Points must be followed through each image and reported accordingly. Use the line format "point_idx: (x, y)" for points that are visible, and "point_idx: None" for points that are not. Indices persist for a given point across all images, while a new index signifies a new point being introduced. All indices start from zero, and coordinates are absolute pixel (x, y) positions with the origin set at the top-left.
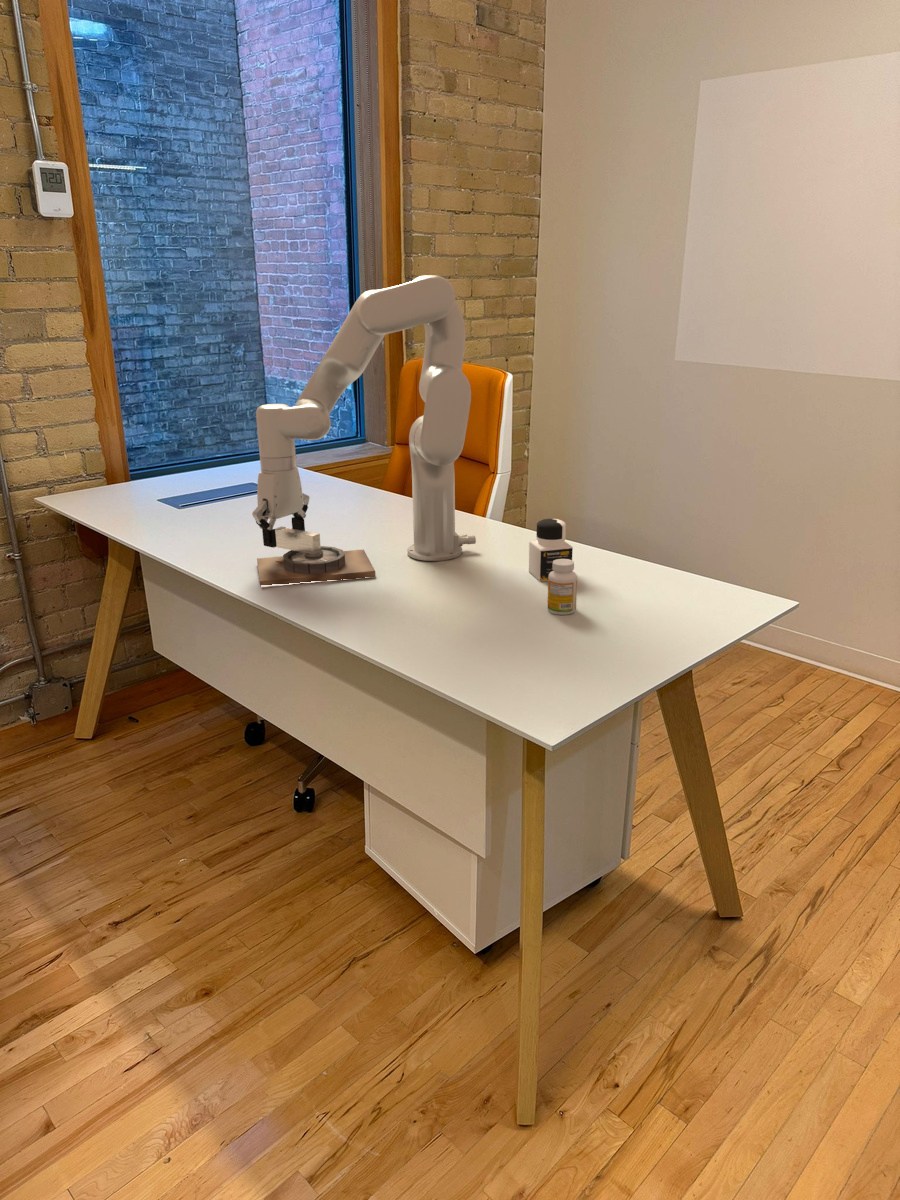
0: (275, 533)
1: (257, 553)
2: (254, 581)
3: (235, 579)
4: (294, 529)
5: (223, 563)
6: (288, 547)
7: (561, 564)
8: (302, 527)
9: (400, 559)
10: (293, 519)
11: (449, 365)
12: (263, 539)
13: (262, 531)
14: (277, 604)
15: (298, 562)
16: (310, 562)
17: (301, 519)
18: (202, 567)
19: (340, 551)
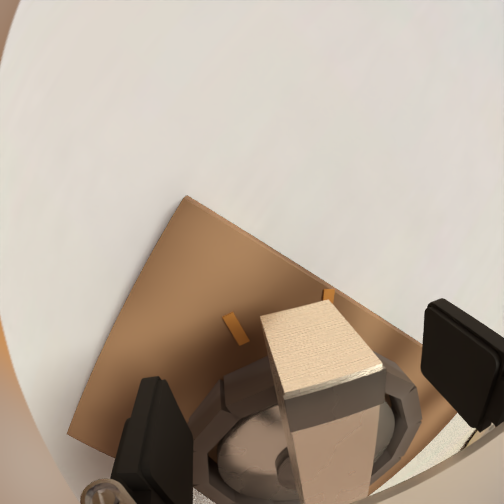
0: (191, 501)
1: (302, 43)
2: (76, 364)
3: (31, 294)
4: (371, 456)
5: (98, 57)
6: (279, 408)
7: None
8: (450, 400)
9: (462, 432)
10: (489, 374)
11: None
12: (136, 404)
13: (123, 449)
14: (80, 491)
15: (210, 488)
16: (253, 488)
17: (482, 424)
18: (23, 58)
19: (388, 465)
